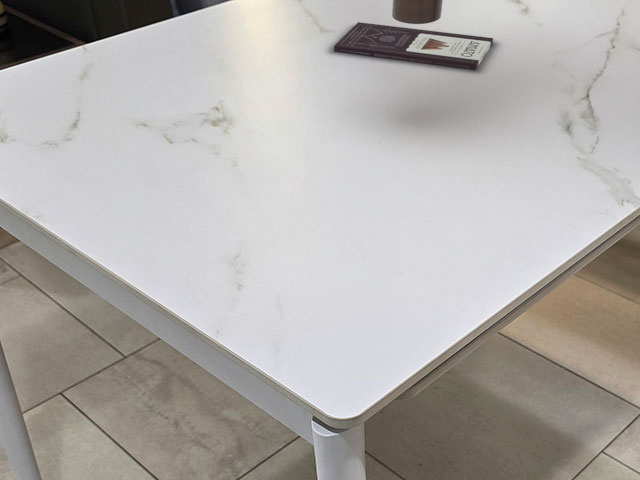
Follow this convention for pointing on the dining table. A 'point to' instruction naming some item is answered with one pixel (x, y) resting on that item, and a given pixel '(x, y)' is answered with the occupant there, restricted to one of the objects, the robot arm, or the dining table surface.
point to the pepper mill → (417, 11)
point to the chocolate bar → (415, 45)
